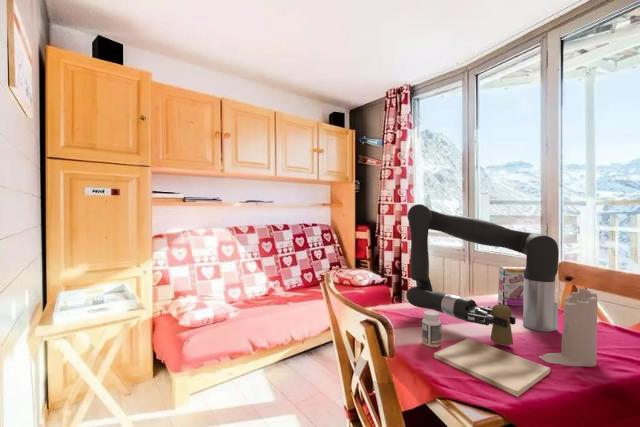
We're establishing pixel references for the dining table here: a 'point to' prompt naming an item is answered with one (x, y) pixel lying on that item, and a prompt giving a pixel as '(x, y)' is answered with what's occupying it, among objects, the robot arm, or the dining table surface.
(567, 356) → the candle
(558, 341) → the dining table surface
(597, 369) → the dining table surface
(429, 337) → the pill bottle
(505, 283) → the candy bar box
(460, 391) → the dining table surface
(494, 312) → the cork
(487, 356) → the birch board
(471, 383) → the dining table surface
